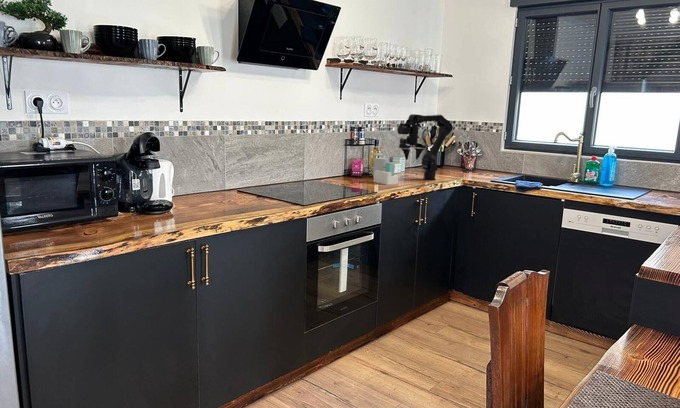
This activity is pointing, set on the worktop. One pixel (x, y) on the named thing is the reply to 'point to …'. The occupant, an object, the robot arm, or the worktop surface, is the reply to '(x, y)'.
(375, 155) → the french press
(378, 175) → the socket
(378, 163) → the supplement box
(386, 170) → the teal rectangular block
